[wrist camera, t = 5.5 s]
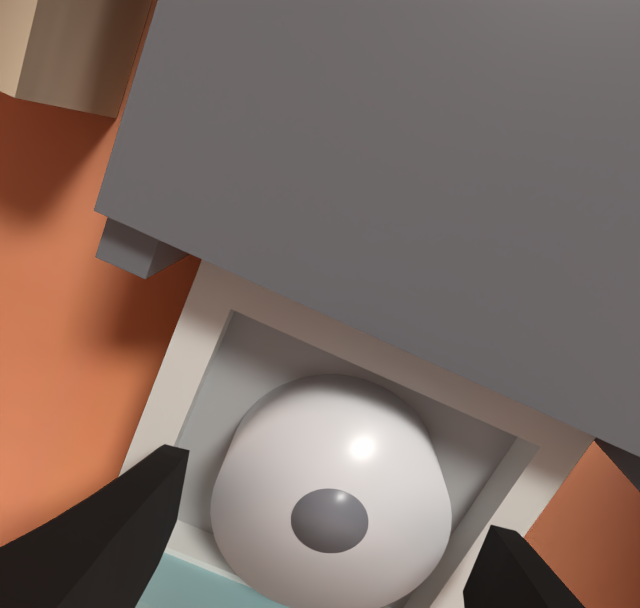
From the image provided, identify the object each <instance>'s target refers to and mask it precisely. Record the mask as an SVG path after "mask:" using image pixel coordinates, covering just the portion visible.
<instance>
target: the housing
mask: <svg viewBox="0 0 640 608" xmlns="http://www.w3.org/2000/svg"><path fill="white" fill-rule="evenodd" d="M94 211H96V212H98V213H100V214H102V215H105V216H107V217H108V218H107V221H106V225H105V228H104V231H103V234H102V237H101V240H100V244H99V247H98V250H97V253H96V256H95V257H96V258H98V259H101V260H103V261H105V262H107V263H110V264H112V265H114V266H116V267H119V268H121V269H123V270H125V271H128V272H130V273H132V274H134V275H137V276H139V277H141V278H143V279H147V278H149V277H150V276H152V275H154V274H156V273H157V272H159V271H161V270H163V269H165V268H166V267H168V266H170V265H172V264H174V263H175V262H177V261H179V260H181V259H182V258H184V257H186V256H188V255H190V254H191V255H193V256H196V257H198V258H200V259H202V260H204V261H207V262H209V263H211V264H213V265H215V266H218V267H220V268H222V269H224V270H227V271H229V272H231V273H233V274H235V275H238V276H240V277H242V278H244V279H246V280H249V281H251V282H253V283H255V284H258V285H260V286H262V287H264V288H266V289H269V290H271V291H273V292H275V293H278V294H280V295H282V296H284V297H286V298H289V299H291V300H293V301H295V302H297V303H300V304H302V305H304V306H306V307H309V308H311V309H313V310H315V311H317V312H320V313H322V314H324V315H326V316H328V317H331V318H333V319H335V320H337V321H340V322H342V323H344V324H346V325H348V326H351V327H353V328H355V329H357V330H359V331H362V332H364V333H366V334H368V335H371V336H373V337H375V338H377V339H379V340H382V341H384V342H386V343H388V344H391V345H393V346H395V347H397V348H399V349H402V350H404V351H406V352H408V353H410V354H413V355H415V356H417V357H419V358H422V359H424V360H426V361H428V362H430V363H433V364H435V365H437V366H439V367H441V368H444V369H446V370H448V371H450V372H453V373H455V374H457V375H459V376H461V377H464V378H466V379H468V380H470V381H472V382H475V383H477V384H479V385H481V386H484V387H486V388H488V389H490V390H492V391H495V392H497V393H499V394H501V395H503V396H506V397H508V398H510V399H512V400H515V401H517V402H519V403H521V404H523V405H526V406H528V407H530V408H532V409H535V410H537V411H539V412H541V413H543V414H546V415H548V416H550V417H552V418H554V419H557V420H559V421H561V422H563V423H566V424H568V425H570V426H572V427H574V428H577V429H579V430H581V431H583V432H585V433H588V434H590V435H592V436H594V437H596V438H595V439H594V441H595V442H596V443H597V444H598V445H599V447H600V448H601V449H602V450H603V451H604V452H605V453H606V454H607V456H608V457H609V458H610V459H611V460H612V461H613V462H614V463H615V465H616V466H617V467H618V468H619V469H620V470H621V471H622V472H623V474H624V475H625V476H626V477H627V478H628V479H629V480H630V481H631V482H632V484H633V485H634V486H635V487H636V488H637V489H638V490H639V491H640V0H158V1H157V5H156V8H155V11H154V15H153V18H152V21H151V24H150V28H149V31H148V34H147V38H146V41H145V44H144V47H143V51H142V54H141V57H140V61H139V64H138V67H137V70H136V74H135V77H134V80H133V83H132V87H131V90H130V93H129V97H128V100H127V103H126V106H125V110H124V113H123V116H122V120H121V123H120V126H119V129H118V133H117V136H116V139H115V143H114V146H113V149H112V152H111V156H110V159H109V162H108V166H107V169H106V172H105V175H104V179H103V182H102V185H101V189H100V192H99V195H98V198H97V202H96V205H95V208H94Z"/></svg>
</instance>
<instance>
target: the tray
mask: <svg viewBox="0 0 640 608" xmlns="http://www.w3.org/2000/svg"><path fill="white" fill-rule="evenodd" d="M329 374H337V375H346V376H352V377H357V378H361V379H365V380H368V381H370V382H373V383H376V384H378V385H380V386H382V387H384V388H386V389H388V390H390V391H391V392H393V393H394V394H396V395H397V396H398V397H400V398H401V399H402V400H403V401H405V402H406V403H407V404H408V405H409V406H410V407H411V408H412V409H413V410H414V411H415V413H416V414H417V415H418V416H419V417H420V419H421V421H422V422H423V424H424V425H425V427H426V429H427V431H428V433H429V436H430V438H431V441H432V444H433V447H434V450H435V453H436V456H437V459H438V463H439V466H440V469H441V472H442V475H443V478H444V481H445V485H446V488H447V491H448V495H449V499H450V503H451V512H452V522H451V532H450V536H449V541H448V544H447V546H446V549H445V552H444V554H443V556H442V558H441V559H440V561H439V563H438V565H437V566H436V567H435V569H434V570H433V571H432V573H431V574H430V575H429V576H428V577H427V578H426V579H425V580H424V581H423V582H422V583H421V584H420V585H419V586H418V587H417V588H415V589H414V590H413V591H411V592H410V593H409V594H407V595H405V596H404V597H402V598H400V599H398V600H397V601H395V602H392V603H390V604H388V605H385V606H383V607H380V608H464V599H463V589H464V587H465V585H466V582H467V580H468V577H469V575H470V573H471V570H472V568H473V566H474V563H475V561H476V559H477V556H478V554H479V551H480V549H481V547H482V544H483V542H484V540H485V537H486V535H487V533H488V530H489V528H490V525H495V526H499V527H503V528H507V529H511V530H515V531H517V532H518V533H519V534H520V535H521V536H522V537H524V536H525V534H526V533H527V532H528V530H529V529H530V527H531V526H532V525H533V523H534V522H535V520H536V519H537V518H538V516H539V515H540V514H541V512H542V511H543V509H544V508H545V507H546V505H547V504H548V503H549V501H550V500H551V498H552V497H553V496H554V494H555V493H556V492H557V490H558V489H559V487H560V486H561V485H562V483H563V482H564V481H565V479H566V478H567V476H568V475H569V474H570V472H571V471H572V470H573V468H574V467H575V465H576V464H577V463H578V461H579V460H580V458H581V457H582V456H583V454H584V453H585V452H586V450H587V449H588V447H589V446H590V445H591V443H592V442H593V441H594V439H595V438H596V437H594V436H592V435H590V434H588V433H585V432H583V431H581V430H579V429H577V428H574V427H572V426H570V425H568V424H566V423H563V422H561V421H559V420H557V419H554V418H552V417H550V416H548V415H546V414H543V413H541V412H539V411H537V410H535V409H532V408H530V407H528V406H526V405H523V404H521V403H519V402H517V401H515V400H512V399H510V398H508V397H506V396H503V395H501V394H499V393H497V392H495V391H492V390H490V389H488V388H486V387H484V386H481V385H479V384H477V383H475V382H472V381H470V380H468V379H466V378H464V377H461V376H459V375H457V374H455V373H453V372H450V371H448V370H446V369H444V368H441V367H439V366H437V365H435V364H433V363H430V362H428V361H426V360H424V359H422V358H419V357H417V356H415V355H413V354H410V353H408V352H406V351H404V350H402V349H399V348H397V347H395V346H393V345H391V344H388V343H386V342H384V341H382V340H379V339H377V338H375V337H373V336H371V335H368V334H366V333H364V332H362V331H359V330H357V329H355V328H353V327H351V326H348V325H346V324H344V323H342V322H340V321H337V320H335V319H333V318H331V317H328V316H326V315H324V314H322V313H320V312H317V311H315V310H313V309H311V308H309V307H306V306H304V305H302V304H300V303H297V302H295V301H293V300H291V299H289V298H286V297H284V296H282V295H280V294H278V293H275V292H273V291H271V290H269V289H266V288H264V287H262V286H260V285H258V284H255V283H253V282H251V281H249V280H246V279H244V278H242V277H240V276H238V275H235V274H233V273H231V272H229V271H227V270H224V269H222V268H220V267H218V266H215V265H213V264H211V263H209V262H207V261H204V260H202V261H201V263H200V266H199V268H198V271H197V274H196V276H195V279H194V281H193V284H192V287H191V289H190V292H189V294H188V297H187V300H186V302H185V305H184V307H183V310H182V313H181V315H180V318H179V320H178V323H177V326H176V328H175V331H174V333H173V336H172V339H171V341H170V344H169V346H168V349H167V352H166V354H165V357H164V359H163V362H162V365H161V367H160V370H159V372H158V375H157V378H156V380H155V383H154V385H153V388H152V391H151V393H150V396H149V398H148V401H147V404H146V406H145V409H144V411H143V414H142V417H141V419H140V422H139V424H138V427H137V430H136V432H135V435H134V437H133V440H132V443H131V445H130V448H129V450H128V453H127V456H126V458H125V461H124V463H123V466H122V469H121V471H120V474H119V476H121V475H122V474H123V473H125V472H126V471H127V470H129V469H130V468H132V467H133V466H134V465H136V464H137V463H138V462H140V461H141V460H142V459H144V458H145V457H146V456H148V455H149V454H150V453H152V452H153V451H154V450H156V449H157V448H158V447H160V446H162V445H164V444H166V445H170V446H174V447H178V448H183V449H187V450H190V452H189V458H188V463H187V469H186V474H185V480H184V485H183V490H182V496H181V501H180V507H179V512H178V517H177V522H176V524H175V527H174V529H173V532H172V534H171V537H170V539H169V541H168V544H167V546H166V549H165V551H164V553H163V556H162V558H161V560H160V563H159V565H158V567H157V568H156V570H155V572H154V574H153V576H152V578H151V580H150V581H149V583H148V585H147V587H146V589H145V591H144V592H143V594H142V596H141V598H140V600H139V601H138V603H137V605H136V607H135V608H290V607H287V606H284V605H282V604H279V603H277V602H275V601H273V600H271V599H269V598H267V597H265V596H264V595H262V594H260V593H259V592H257V591H256V590H254V589H253V588H252V587H250V586H249V585H248V584H246V583H245V582H244V581H243V580H242V579H241V578H240V577H239V576H238V575H237V574H236V573H235V572H234V570H233V569H232V568H231V567H230V566H229V564H228V563H227V561H226V560H225V558H224V556H223V555H222V553H221V552H220V549H219V547H218V545H217V542H216V540H215V537H214V533H213V529H212V524H211V516H210V509H211V498H212V493H213V488H214V485H215V482H216V480H217V477H218V474H219V472H220V469H221V467H222V464H223V462H224V459H225V457H226V454H227V452H228V449H229V447H230V444H231V442H232V440H233V437H234V435H235V432H236V430H237V428H238V426H239V424H240V422H241V420H242V418H243V417H244V416H245V414H246V413H247V412H248V410H249V409H250V408H251V407H252V406H253V405H254V404H255V403H256V402H257V401H258V400H259V399H260V398H262V397H263V396H264V395H266V394H267V393H268V392H270V391H271V390H273V389H275V388H277V387H279V386H280V385H283V384H285V383H288V382H290V381H293V380H296V379H300V378H303V377H307V376H315V375H329ZM119 476H118V477H119Z"/></svg>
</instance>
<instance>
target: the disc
mask: <svg viewBox="0 0 640 608" xmlns="http://www.w3.org/2000/svg"><path fill="white" fill-rule="evenodd" d="M210 516H211V524H212V529H213V533H214V537H215V540H216V542H217V545H218V547H219V549H220V552H221V553H222V555H223V556H224V558H225V560H226V561H227V563H228V564H229V566H230V567H231V568H232V569H233V570H234V572H235V573H236V574H237V575H238V576H239V577H240V578H241V579H242V580H243V581H244V582H245V583H246V584H248V585H249V586H250V587H252V588H253V589H254V590H256V591H257V592H259V593H260V594H262V595H264V596H265V597H267V598H269V599H271V600H273V601H275V602H277V603H279V604H282V605H284V606H287V607H290V608H380V607H383V606H385V605H388V604H390V603H392V602H395V601H397V600H398V599H400V598H402V597H404V596H405V595H407V594H409V593H410V592H411V591H413V590H414V589H415V588H417V587H418V586H419V585H420V584H421V583H422V582H423V581H424V580H425V579H426V578H427V577H428V576H429V575H430V574H431V573H432V571H433V570H434V569H435V567H436V566H437V565H438V563H439V561H440V559H441V558H442V556H443V554H444V552H445V549H446V546H447V544H448V541H449V536H450V532H451V522H452V512H451V503H450V499H449V495H448V491H447V488H446V485H445V481H444V478H443V475H442V472H441V469H440V466H439V463H438V459H437V456H436V453H435V450H434V447H433V444H432V441H431V438H430V436H429V433H428V431H427V429H426V427H425V425H424V424H423V422H422V421H421V419H420V417H419V416H418V415H417V414H416V413H415V411H414V410H413V409H412V408H411V407H410V406H409V405H408V404H407V403H406V402H405V401H403V400H402V399H401V398H400V397H398V396H397V395H396V394H394V393H393V392H391V391H390V390H388V389H386V388H384V387H382V386H380V385H378V384H376V383H373V382H370V381H368V380H365V379H361V378H357V377H352V376H346V375H337V374H329V375H315V376H307V377H303V378H300V379H296V380H293V381H290V382H288V383H285V384H283V385H280V386H279V387H277V388H275V389H273V390H271V391H270V392H268V393H267V394H266V395H264V396H263V397H262V398H260V399H259V400H258V401H257V402H256V403H255V404H254V405H253V406H252V407H251V408H250V409H249V410H248V412H247V413H246V414H245V416H244V417H243V418H242V420H241V422H240V424H239V426H238V428H237V430H236V432H235V435H234V437H233V440H232V442H231V444H230V447H229V449H228V452H227V454H226V457H225V459H224V462H223V464H222V467H221V469H220V472H219V474H218V477H217V480H216V482H215V485H214V488H213V493H212V498H211V509H210Z"/></svg>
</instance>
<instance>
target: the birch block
mask: <svg viewBox="0 0 640 608" xmlns="http://www.w3.org/2000/svg"><path fill="white" fill-rule="evenodd" d="M151 2H152V0H0V91H1V92H3V93H5V94H7V95H9V96H12V97H14V98H18V99H23V100H28V101H32V102H37V103H42V104H47V105H52V106H57V107H62V108H67V109H72V110H77V111H82V112H87V113H92V114H97V115H102V116H107V117H112V118H117V115H118V112H119V108H120V105H121V102H122V98H123V95H124V92H125V88H126V85H127V82H128V78H129V75H130V72H131V68H132V65H133V62H134V58H135V55H136V52H137V49H138V45H139V42H140V39H141V35H142V32H143V29H144V25H145V22H146V19H147V15H148V12H149V9H150V5H151Z"/></svg>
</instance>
